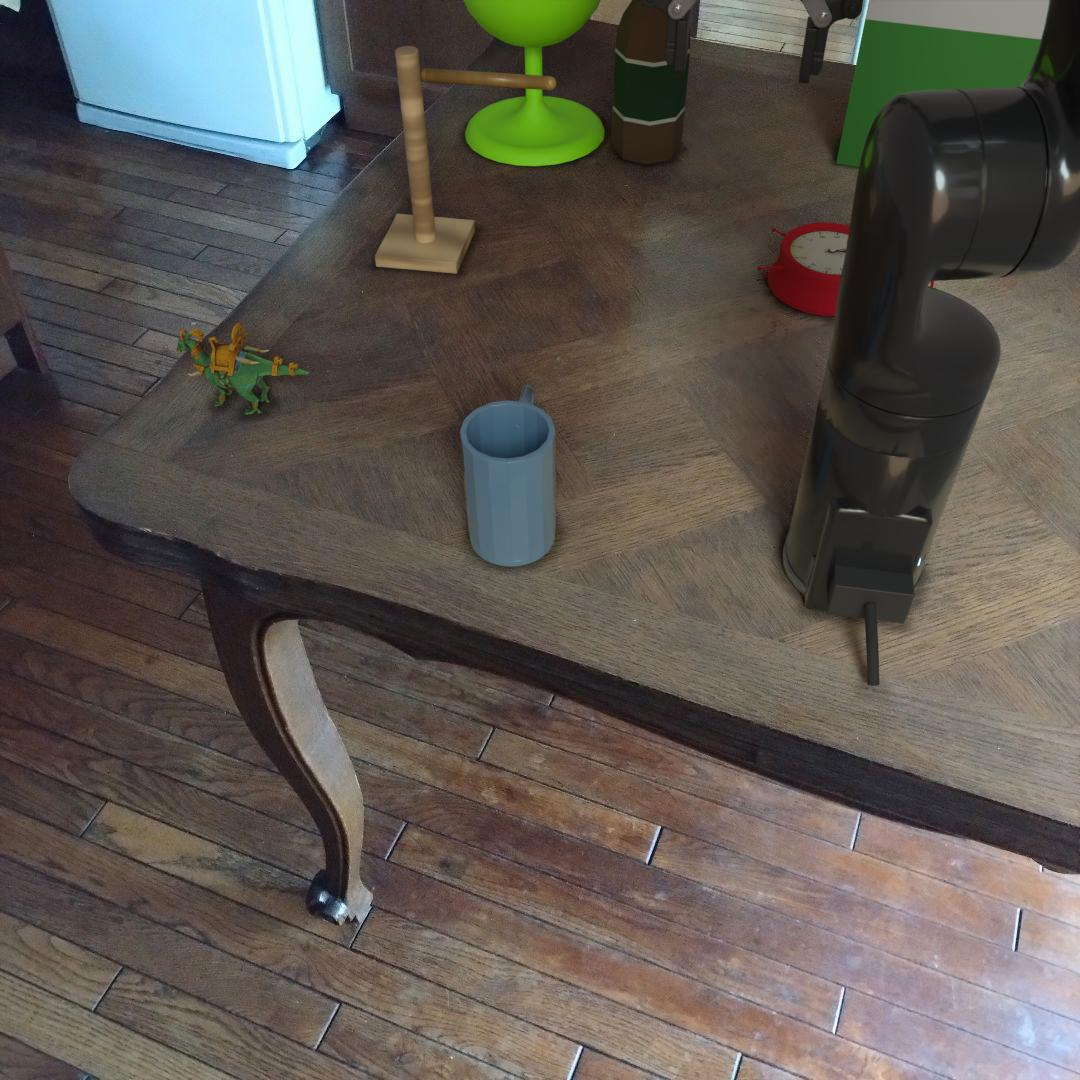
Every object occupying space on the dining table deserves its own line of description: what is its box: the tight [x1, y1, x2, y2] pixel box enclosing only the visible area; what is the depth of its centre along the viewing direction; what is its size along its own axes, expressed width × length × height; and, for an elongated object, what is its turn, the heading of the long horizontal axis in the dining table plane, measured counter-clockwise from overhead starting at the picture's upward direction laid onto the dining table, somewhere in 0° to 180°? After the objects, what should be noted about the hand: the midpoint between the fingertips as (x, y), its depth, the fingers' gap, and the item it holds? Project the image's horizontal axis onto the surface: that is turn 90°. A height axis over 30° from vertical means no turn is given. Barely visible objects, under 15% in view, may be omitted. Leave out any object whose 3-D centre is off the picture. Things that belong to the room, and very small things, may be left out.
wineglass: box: [462, 0, 606, 167], centre depth 114 cm, size 16×16×18 cm
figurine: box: [175, 322, 310, 416], centre depth 85 cm, size 3×12×8 cm, turn 72°
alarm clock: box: [757, 221, 935, 317], centre depth 96 cm, size 10×6×15 cm
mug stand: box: [374, 45, 557, 274], centre depth 97 cm, size 8×17×19 cm, turn 80°
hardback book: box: [835, 0, 1049, 168], centre depth 107 cm, size 18×7×24 cm, turn 70°
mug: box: [459, 384, 557, 568], centre depth 75 cm, size 10×6×10 cm, turn 170°
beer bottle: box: [611, 0, 692, 165], centre depth 109 cm, size 8×8×24 cm
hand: (741, 75), depth 73 cm, fingers open, 8 cm apart
